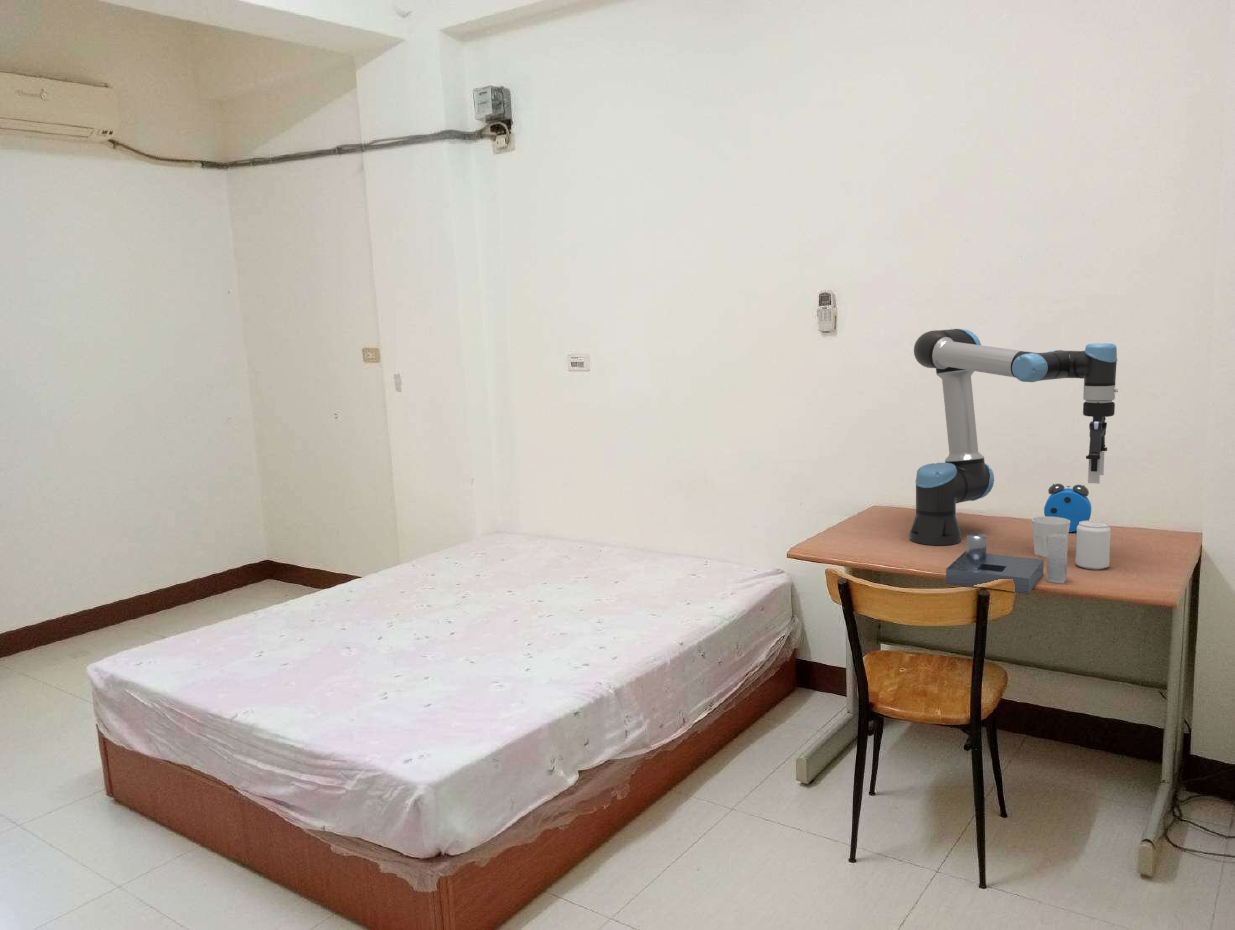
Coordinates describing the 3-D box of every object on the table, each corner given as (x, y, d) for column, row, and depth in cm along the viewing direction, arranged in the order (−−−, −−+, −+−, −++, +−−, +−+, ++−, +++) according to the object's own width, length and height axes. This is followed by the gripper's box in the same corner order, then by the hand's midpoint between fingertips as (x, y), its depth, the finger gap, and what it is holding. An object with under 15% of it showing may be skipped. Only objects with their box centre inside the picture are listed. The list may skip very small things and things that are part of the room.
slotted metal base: (945, 583, 236) (946, 546, 234) (965, 565, 252) (965, 530, 251) (1028, 594, 225) (1029, 555, 223) (1043, 573, 241) (1044, 537, 239)
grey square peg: (1046, 581, 234) (1048, 536, 232) (1049, 577, 237) (1051, 533, 235) (1063, 583, 232) (1065, 538, 230) (1066, 579, 235) (1068, 534, 233)
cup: (1022, 552, 263) (1023, 519, 261) (1047, 547, 266) (1049, 515, 265) (1051, 560, 253) (1052, 525, 252) (1077, 555, 257) (1078, 521, 256)
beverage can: (1069, 563, 250) (1070, 521, 248) (1097, 561, 250) (1099, 519, 248) (1086, 571, 242) (1088, 527, 240) (1115, 569, 242) (1117, 525, 240)
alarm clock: (1090, 530, 285) (1092, 483, 282) (1089, 534, 279) (1091, 487, 277) (1044, 527, 291) (1046, 481, 289) (1043, 531, 286) (1044, 484, 283)
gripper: (1111, 406, 231) (1108, 487, 234) (1117, 397, 252) (1114, 472, 255) (1078, 405, 235) (1075, 486, 238) (1087, 396, 255) (1084, 470, 259)
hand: (1095, 479), depth 246 cm, fingers open, 13 cm apart
